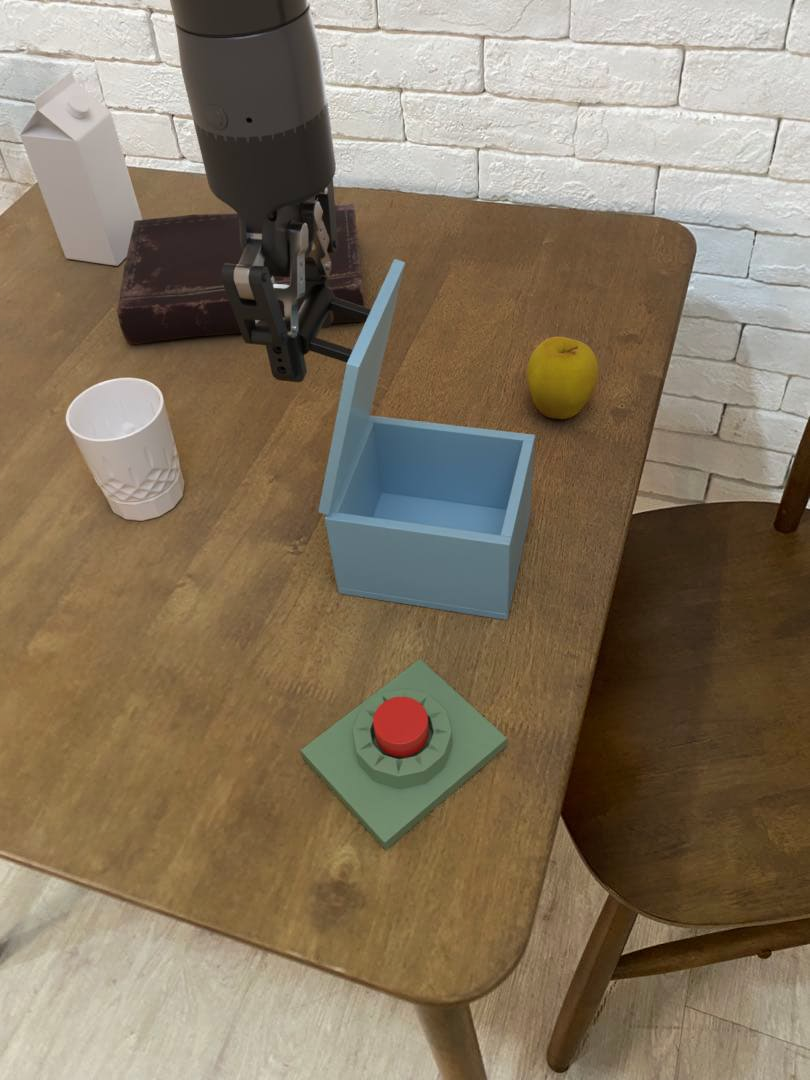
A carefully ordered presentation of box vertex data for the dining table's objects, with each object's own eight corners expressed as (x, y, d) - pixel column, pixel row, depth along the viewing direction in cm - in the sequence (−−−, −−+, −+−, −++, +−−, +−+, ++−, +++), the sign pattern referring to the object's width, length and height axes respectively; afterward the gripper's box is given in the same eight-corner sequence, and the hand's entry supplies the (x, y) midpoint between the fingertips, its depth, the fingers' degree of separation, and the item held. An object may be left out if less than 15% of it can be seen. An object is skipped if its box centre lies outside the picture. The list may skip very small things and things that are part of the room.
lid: (405, 261, 64) (327, 236, 64) (359, 366, 56) (270, 338, 57) (371, 411, 75) (304, 390, 75) (328, 515, 68) (254, 492, 68)
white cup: (134, 455, 87) (102, 369, 80) (207, 474, 85) (181, 388, 77) (85, 514, 82) (45, 428, 75) (160, 536, 80) (127, 450, 72)
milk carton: (65, 260, 111) (4, 96, 96) (97, 229, 115) (43, 68, 101) (117, 267, 109) (63, 102, 95) (147, 235, 113) (100, 73, 99)
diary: (366, 327, 98) (362, 285, 94) (128, 351, 98) (114, 311, 94) (357, 234, 110) (353, 194, 107) (146, 255, 110) (134, 216, 106)
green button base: (420, 667, 69) (418, 643, 67) (507, 746, 65) (508, 724, 62) (302, 758, 65) (295, 736, 63) (385, 850, 60) (382, 830, 58)
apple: (591, 435, 85) (599, 365, 79) (521, 429, 86) (524, 359, 80) (596, 390, 89) (604, 320, 83) (529, 385, 90) (532, 315, 84)
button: (404, 700, 65) (403, 686, 63) (439, 734, 63) (439, 720, 61) (364, 732, 63) (361, 718, 62) (399, 767, 61) (397, 754, 60)
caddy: (530, 512, 79) (535, 434, 73) (507, 620, 72) (509, 545, 65) (376, 491, 82) (366, 414, 75) (338, 593, 75) (323, 518, 68)
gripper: (280, 166, 46) (326, 424, 59) (359, 49, 55) (384, 294, 68) (142, 159, 48) (215, 412, 60) (241, 46, 57) (287, 287, 70)
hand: (304, 349), depth 64 cm, fingers closed on lid, 5 cm apart
